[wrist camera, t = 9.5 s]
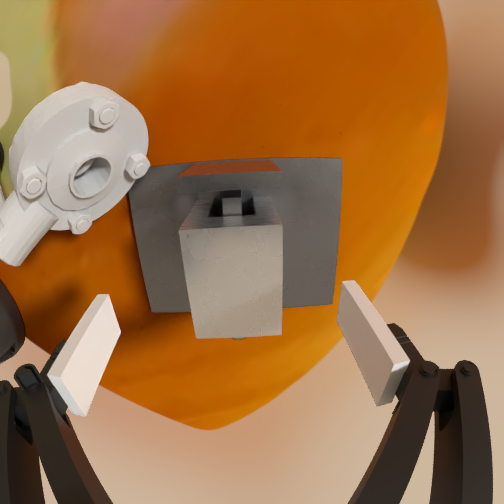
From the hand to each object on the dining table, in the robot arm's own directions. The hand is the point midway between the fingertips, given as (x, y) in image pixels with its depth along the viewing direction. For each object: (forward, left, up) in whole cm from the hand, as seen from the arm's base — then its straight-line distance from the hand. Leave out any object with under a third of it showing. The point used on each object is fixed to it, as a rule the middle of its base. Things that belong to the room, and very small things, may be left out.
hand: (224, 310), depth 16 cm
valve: (-16, +10, -11) cm, 21 cm away
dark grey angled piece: (+1, 0, -11) cm, 11 cm away
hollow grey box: (0, 0, -10) cm, 10 cm away
